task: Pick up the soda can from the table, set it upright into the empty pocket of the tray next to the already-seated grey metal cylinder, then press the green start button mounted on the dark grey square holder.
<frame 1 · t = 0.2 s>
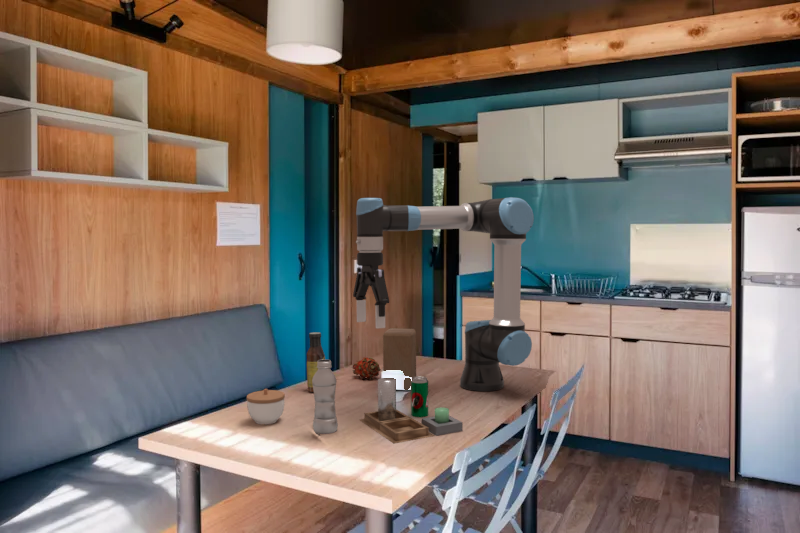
hand: (370, 324, 178), 27 cm above the table, tool pointing down, fingers open, 13 cm apart
sauce bottle: (316, 391, 210), on the table
block: (400, 388, 213), on the table
lidded jar: (266, 422, 177), on the table
seated cylinder: (387, 422, 171), point 1 cm above the table, touching tray
reddish brown bumpy oval: (365, 378, 227), on the table
soda can: (419, 419, 178), on the table
tray: (395, 431, 167), on the table
plastic bottle: (325, 435, 165), on the table
start button: (441, 415, 165), point 5 cm above the table, slide at 0.0 cm
grey square holder: (441, 433, 165), on the table
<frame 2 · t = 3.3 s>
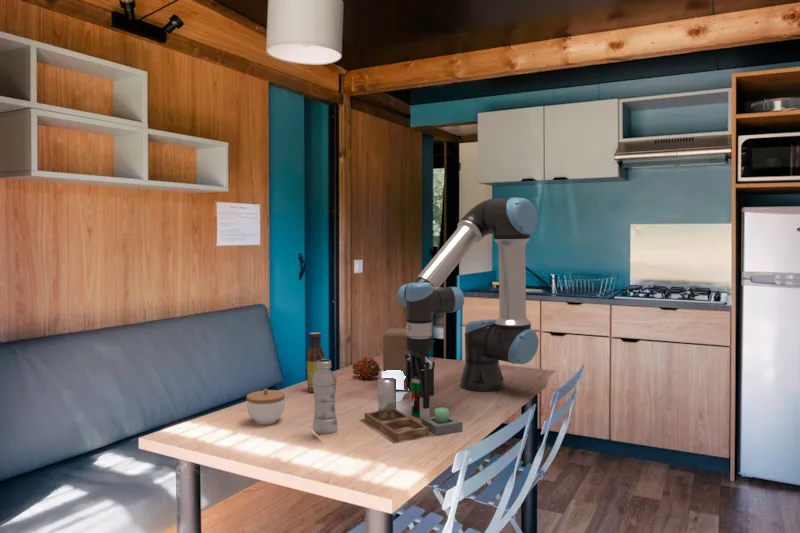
hand: (419, 415, 178), 1 cm above the table, tool pointing down, fingers closed on soda can, 5 cm apart
soda can: (419, 419, 178), on the table, touching gripper
everything else where it was.
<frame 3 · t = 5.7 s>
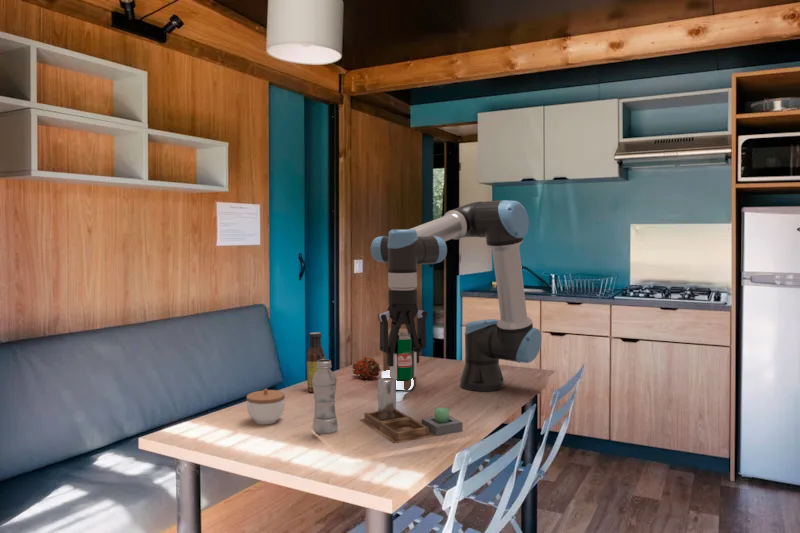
hand: (403, 376, 161), 16 cm above the table, tool pointing down, fingers closed on soda can, 5 cm apart
soda can: (403, 380, 161), point 15 cm above the table, touching gripper
everything else where it was.
when the fingers open (3 cm above the table, at t = 8.2 s): soda can drops 1 cm, resting on tray.
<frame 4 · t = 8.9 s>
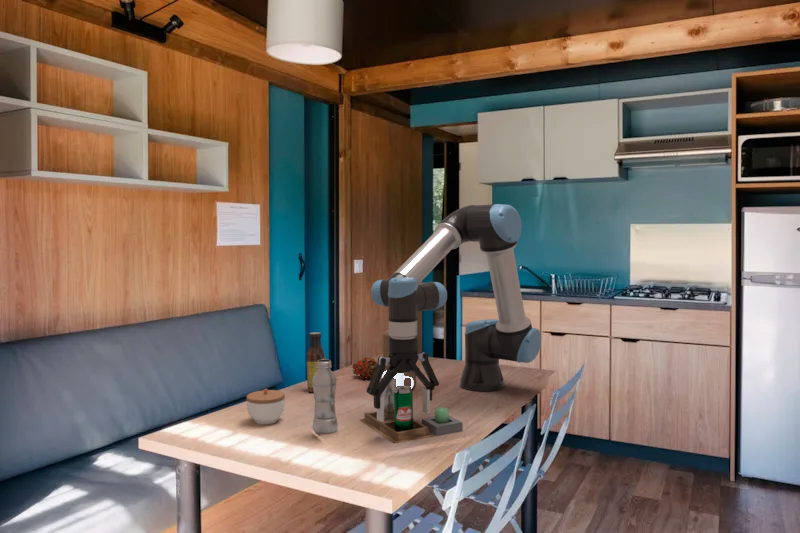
hand: (403, 416, 162), 6 cm above the table, tool pointing down, fingers open, 13 cm apart
soda can: (403, 433, 162), point 1 cm above the table, touching tray
everything else where it was.
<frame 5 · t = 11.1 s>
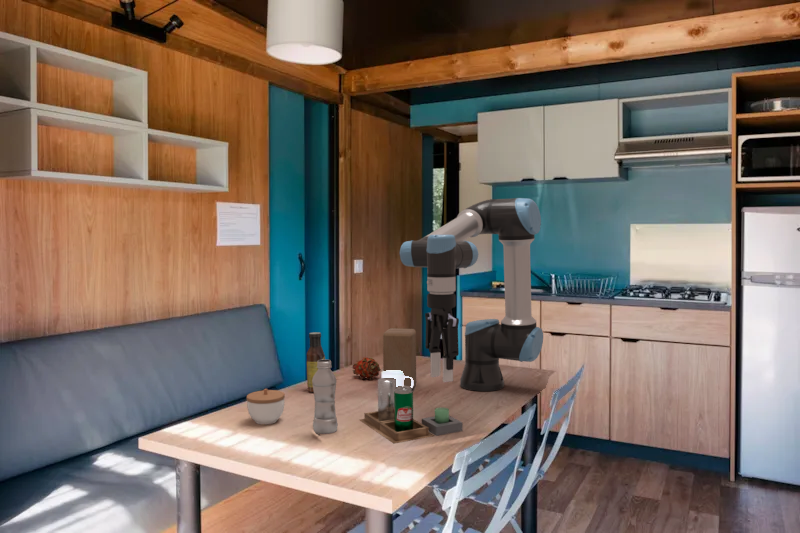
hand: (441, 378, 164), 15 cm above the table, tool pointing down, fingers open, 6 cm apart
nothing on the table moved.
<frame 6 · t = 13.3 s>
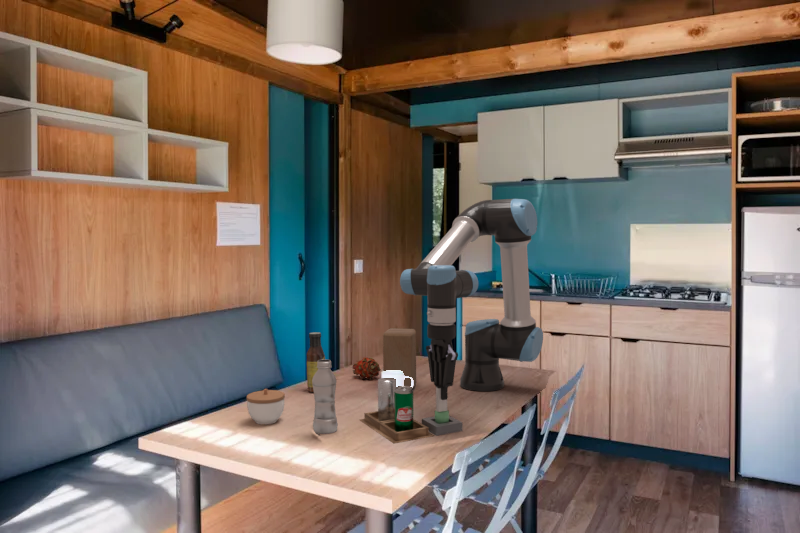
hand: (441, 410, 165), 6 cm above the table, tool pointing down, fingers closed
start button: (441, 417, 165), point 4 cm above the table, slide at 0.5 cm, touching gripper
everything else where it was.
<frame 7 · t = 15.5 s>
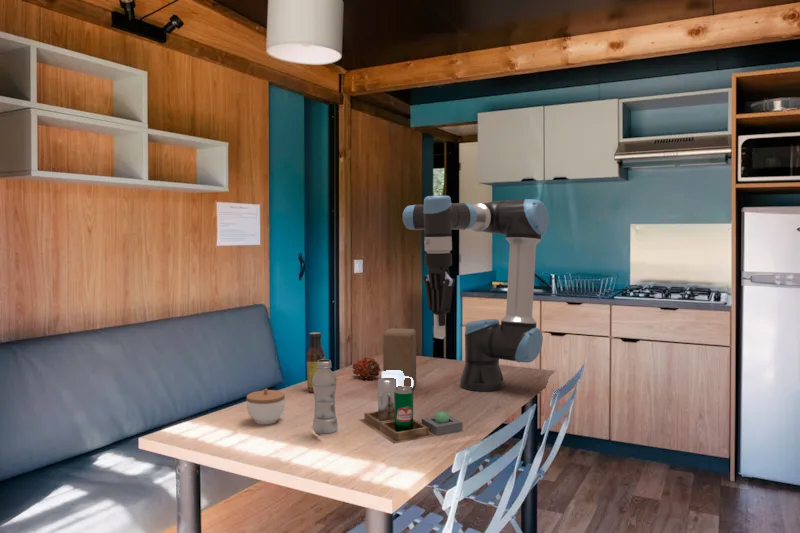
hand: (439, 336, 171), 25 cm above the table, tool pointing down, fingers closed
start button: (441, 419, 165), point 4 cm above the table, slide at 1.0 cm
everything else where it was.
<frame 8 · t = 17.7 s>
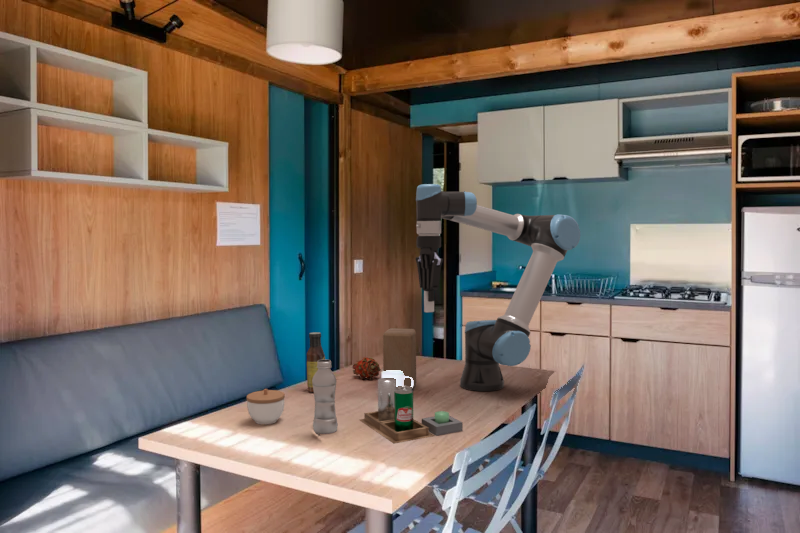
hand: (429, 311, 189), 29 cm above the table, tool pointing down, fingers closed
nothing on the table moved.
at the end: soda can 0.1 cm from the target spot on the tray, point 1.0 cm above the tray's base; soda can tilted 0°; start button slide at 1.0 cm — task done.
